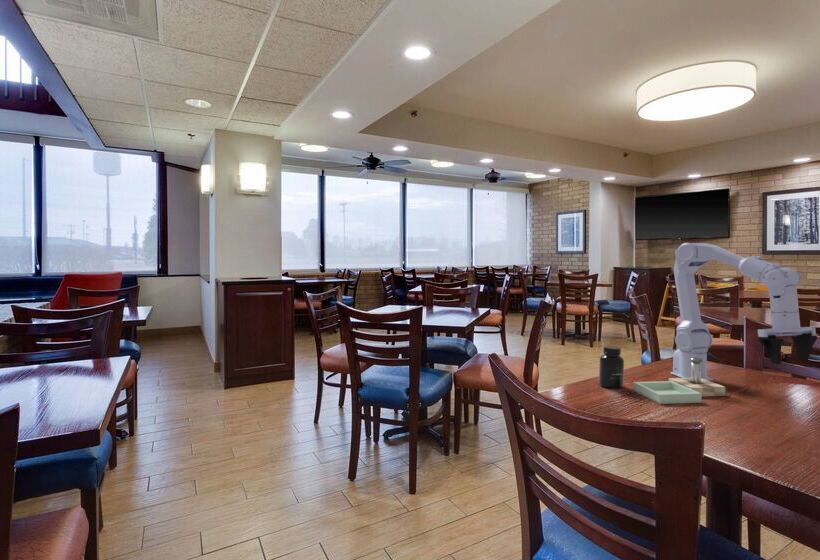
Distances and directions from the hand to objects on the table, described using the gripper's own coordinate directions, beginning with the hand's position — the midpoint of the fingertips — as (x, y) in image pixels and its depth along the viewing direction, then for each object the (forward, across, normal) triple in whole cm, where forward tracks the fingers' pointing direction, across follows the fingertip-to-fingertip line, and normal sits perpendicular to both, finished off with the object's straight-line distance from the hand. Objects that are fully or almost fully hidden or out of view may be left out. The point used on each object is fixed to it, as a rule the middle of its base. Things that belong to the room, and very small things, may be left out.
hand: (789, 362), depth 116 cm
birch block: (+9, -17, +13) cm, 24 cm away
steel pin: (+9, -17, +13) cm, 24 cm away
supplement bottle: (+8, -39, +20) cm, 45 cm away
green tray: (+9, -29, +9) cm, 32 cm away
